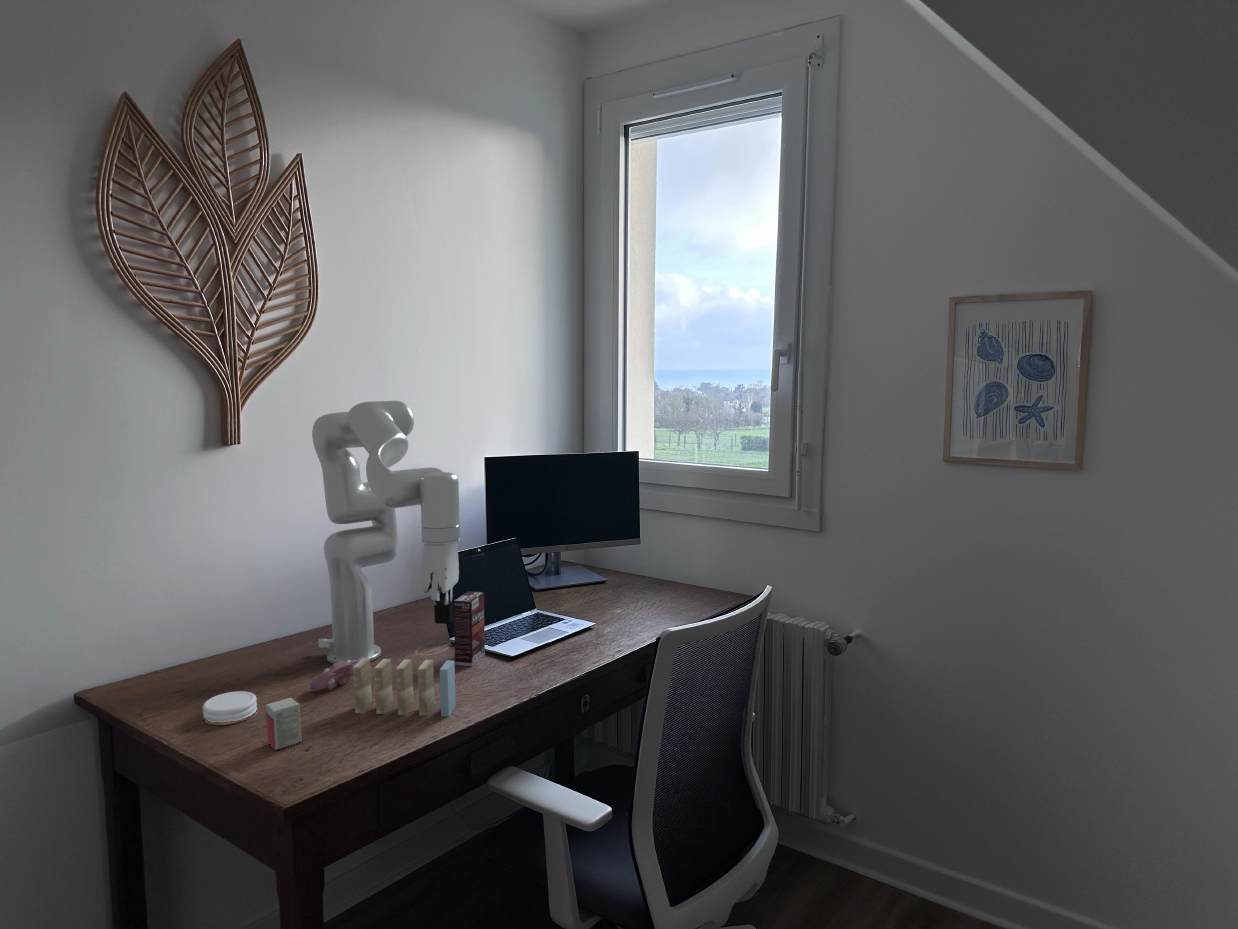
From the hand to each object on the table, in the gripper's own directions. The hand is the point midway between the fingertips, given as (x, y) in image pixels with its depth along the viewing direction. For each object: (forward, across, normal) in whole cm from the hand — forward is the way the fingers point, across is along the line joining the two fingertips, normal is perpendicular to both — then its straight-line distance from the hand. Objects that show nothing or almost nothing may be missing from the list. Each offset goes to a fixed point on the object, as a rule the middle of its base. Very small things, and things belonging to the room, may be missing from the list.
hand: (443, 622), depth 164 cm
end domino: (+19, 0, 0) cm, 19 cm away
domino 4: (+19, 0, -4) cm, 20 cm away
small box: (+19, +17, -26) cm, 37 cm away
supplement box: (+19, -29, -3) cm, 35 cm away
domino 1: (+19, 0, -18) cm, 26 cm away
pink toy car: (+19, -10, -29) cm, 36 cm away
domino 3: (+19, 0, -9) cm, 21 cm away
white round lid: (+20, +6, -44) cm, 48 cm away
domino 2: (+19, 0, -13) cm, 23 cm away
